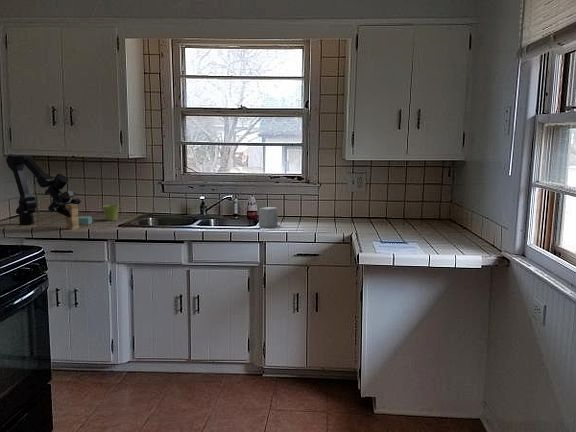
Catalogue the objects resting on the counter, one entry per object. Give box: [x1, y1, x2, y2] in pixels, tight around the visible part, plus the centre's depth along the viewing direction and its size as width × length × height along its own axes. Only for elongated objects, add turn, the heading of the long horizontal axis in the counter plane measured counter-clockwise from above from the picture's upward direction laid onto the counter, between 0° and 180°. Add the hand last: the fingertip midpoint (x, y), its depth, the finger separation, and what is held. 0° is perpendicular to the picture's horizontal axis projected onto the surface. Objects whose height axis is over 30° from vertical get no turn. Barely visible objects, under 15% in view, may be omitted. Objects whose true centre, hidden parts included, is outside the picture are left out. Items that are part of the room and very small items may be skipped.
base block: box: [78, 215, 93, 226], centre depth 302 cm, size 7×7×4 cm
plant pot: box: [102, 204, 120, 222], centre depth 316 cm, size 9×9×9 cm
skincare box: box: [258, 206, 279, 228], centre depth 301 cm, size 10×6×10 cm, turn 149°
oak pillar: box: [65, 204, 80, 230], centre depth 286 cm, size 4×4×13 cm
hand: (73, 216), depth 285 cm, fingers open, 5 cm apart
